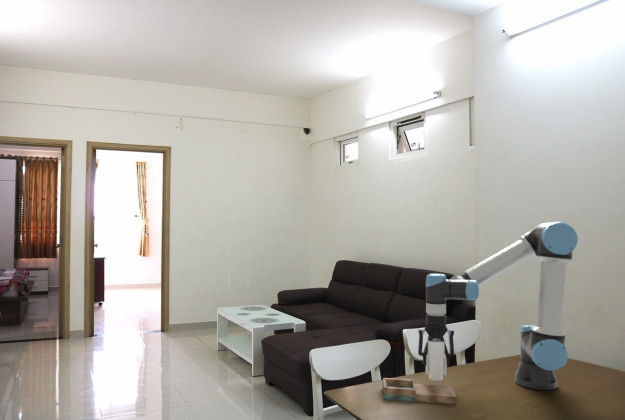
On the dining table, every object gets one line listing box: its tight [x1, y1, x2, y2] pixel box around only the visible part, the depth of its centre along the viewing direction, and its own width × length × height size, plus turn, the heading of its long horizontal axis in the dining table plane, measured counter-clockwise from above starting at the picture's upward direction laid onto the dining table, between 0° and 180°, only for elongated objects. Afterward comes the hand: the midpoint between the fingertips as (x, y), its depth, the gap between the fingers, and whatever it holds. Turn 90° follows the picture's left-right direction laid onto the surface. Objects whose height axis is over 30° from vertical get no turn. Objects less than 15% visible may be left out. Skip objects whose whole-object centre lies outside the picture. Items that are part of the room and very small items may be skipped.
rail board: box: [382, 377, 457, 405], centre depth 177 cm, size 25×11×4 cm, turn 84°
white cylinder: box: [426, 338, 446, 382], centre depth 189 cm, size 7×7×15 cm
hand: (436, 374), depth 189 cm, fingers closed on white cylinder, 6 cm apart
